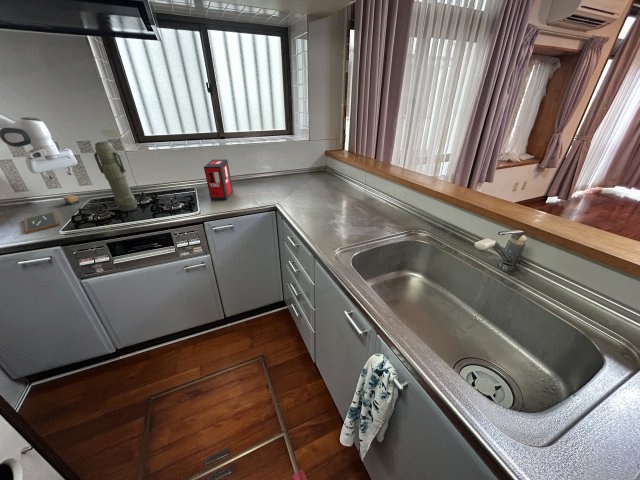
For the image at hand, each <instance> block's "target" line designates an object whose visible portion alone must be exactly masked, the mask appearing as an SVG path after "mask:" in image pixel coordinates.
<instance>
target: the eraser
mask: <svg viewBox="0 0 640 480" xmlns="http://www.w3.org/2000/svg"><path fill="white" fill-rule="evenodd" d="M62 199H63V200H64V203H65V204H67V205H70V206H73V205H78V204H79V203H80V201H79V199H78V196H77V195H73V194H68V195H65V196H62Z"/></svg>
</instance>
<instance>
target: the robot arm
mask: <svg viewBox="0 0 640 480" xmlns="http://www.w3.org/2000/svg"><path fill="white" fill-rule="evenodd" d="M0 140H1V141H2V142H3V143H4V144H6V145H7V146H10V147H14V148H22V147H25V146H28V145H30V146H32V148H31V149H30V150H28V151H26V152H24V153H23V156H24V157H25V164H26V167H27V169H28V170H29V172H31V173H32V174H41V175H42V176H43V177H45V178H46V180H48V181H50V180H53V178H52V175H48V174H47V172H50V171H56V170H59V169H60V170H61V169H65V168H66V169H67V171H66V174H67V175H68V176H72V175H73V172H72V171H73V167H75V166H77V165H78V163H79V162H78V160H77V159H76V156H75V155H74V152H73V150H72V149H71V148H68V147H67V148H59V149H58V146H57V145H56V143H55V141H53V139H52V134H51V132H50V130H49V129H48V127H47V126H46V124H45V122H44V121H42V119H40V118H37V117H27V116H26V117H24V116H23V117H20V118H19V119H18V120H14V119H12V118H10V117H8V116H7V115H4V114H2V113H0Z"/></svg>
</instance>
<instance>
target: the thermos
mask: <svg viewBox="0 0 640 480" xmlns="http://www.w3.org/2000/svg"><path fill="white" fill-rule="evenodd" d="M94 148H95V152H94V154H93V157H94V159H95V162H96V164H97V167H98V169H99V171H100V173H101V174H103V175H104V177H105V179H106V180H107V182H108V185H109V187H110V189H111V192H112V193H113V199H114V201H115V204H116V206H117V208H118V210H119V211H120V210H121V211H120V212H128V211H129V212H130V211H133V210H135V209H137V208H138V205H137V201H136V198H135V196H134V194H133V193H132V191H131V188H130V185H129V183H128V180H127V175H126V172H127V169H126V166H125V163H124V159H123V156H122V154H121V153H120V152H119V151H116V149H115V146H114V145H113V144H112V143H111V142H110V141H97V142H96V143H95V144H94Z"/></svg>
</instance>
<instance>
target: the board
mask: <svg viewBox="0 0 640 480" xmlns="http://www.w3.org/2000/svg"><path fill="white" fill-rule="evenodd" d="M23 223H24V232H25V234H26V235H28V234H31V233H35V232H39V231H43V230H47V229H51V228H56V227H59V226H61V224H60V221H59V217H58V215H57V212H56V211H51V212H47V213H42V214H38V215H37V214H36V215H33V216H29V217H24V219H23Z"/></svg>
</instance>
